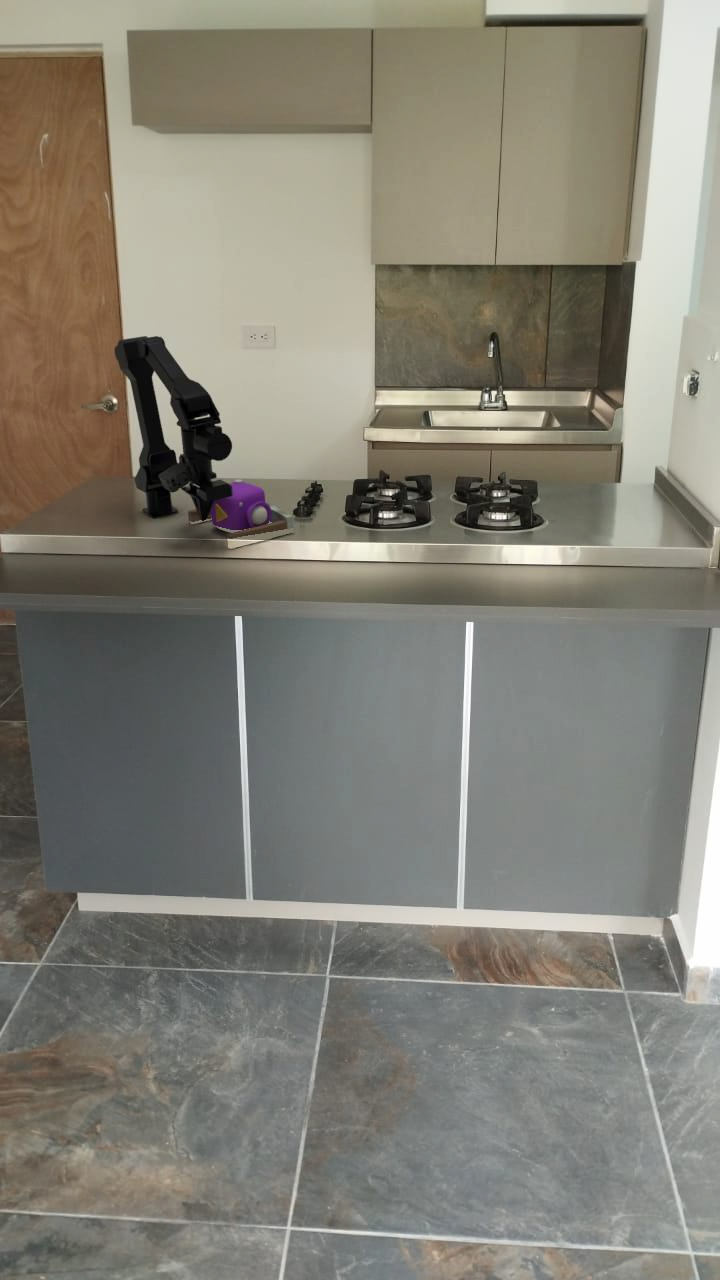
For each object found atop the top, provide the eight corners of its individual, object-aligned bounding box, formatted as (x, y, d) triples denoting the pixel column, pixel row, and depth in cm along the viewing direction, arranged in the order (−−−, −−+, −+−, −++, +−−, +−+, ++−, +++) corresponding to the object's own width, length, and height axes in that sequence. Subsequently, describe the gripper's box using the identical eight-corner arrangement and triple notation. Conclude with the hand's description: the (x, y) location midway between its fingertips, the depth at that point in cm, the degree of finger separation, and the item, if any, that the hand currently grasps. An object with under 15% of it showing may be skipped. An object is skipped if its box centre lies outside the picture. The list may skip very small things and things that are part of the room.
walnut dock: (189, 523, 244) (187, 506, 242) (249, 508, 251) (248, 492, 249) (230, 549, 229) (229, 532, 227) (293, 533, 236) (292, 516, 234)
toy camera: (253, 543, 232) (250, 499, 227) (205, 532, 239) (201, 488, 234) (284, 527, 240) (281, 484, 235) (236, 517, 247) (233, 475, 242)
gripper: (142, 447, 230) (150, 516, 237) (182, 468, 216) (189, 541, 223) (189, 437, 235) (196, 505, 242) (231, 457, 221) (237, 528, 229)
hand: (203, 519), depth 234 cm, fingers closed
